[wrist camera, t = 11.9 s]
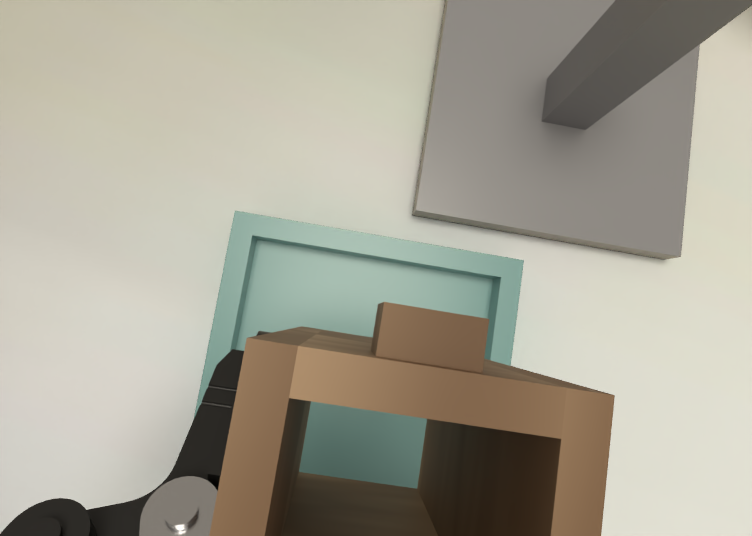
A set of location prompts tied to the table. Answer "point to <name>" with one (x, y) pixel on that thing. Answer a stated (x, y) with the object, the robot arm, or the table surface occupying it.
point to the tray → (353, 321)
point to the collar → (441, 442)
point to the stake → (567, 118)
